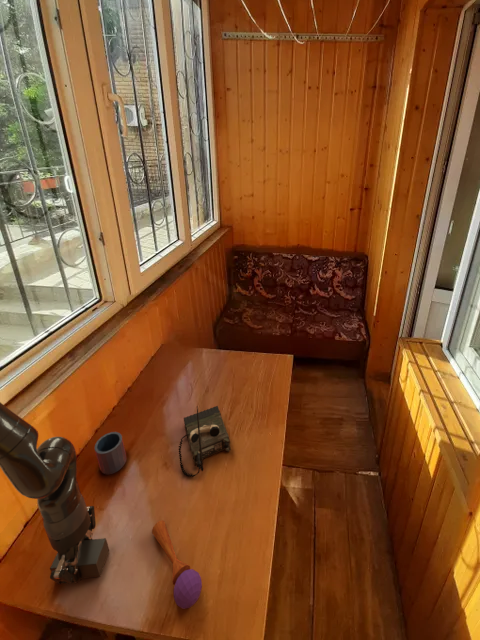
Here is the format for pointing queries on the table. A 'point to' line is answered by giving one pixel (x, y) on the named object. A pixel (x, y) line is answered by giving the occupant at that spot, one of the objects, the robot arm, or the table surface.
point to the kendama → (179, 571)
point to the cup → (110, 453)
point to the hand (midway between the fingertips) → (82, 563)
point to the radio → (205, 436)
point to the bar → (89, 558)
